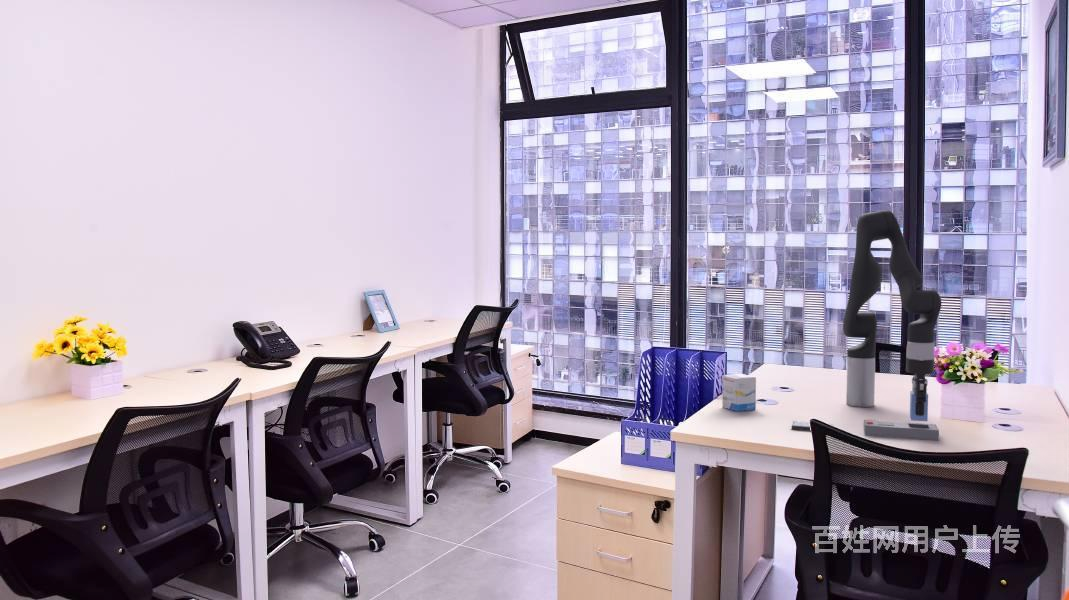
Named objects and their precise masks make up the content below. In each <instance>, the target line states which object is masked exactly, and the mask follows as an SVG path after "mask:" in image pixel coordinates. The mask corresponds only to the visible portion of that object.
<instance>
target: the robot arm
mask: <svg viewBox="0 0 1069 600" xmlns="http://www.w3.org/2000/svg"><path fill="white" fill-rule="evenodd" d="M855 233H856V236H855V253H854V260H853V264H852V265H853V266H852V271H851V277H850V285H849V295H848V298H847V299H848V300H847V305H846V309H845V312H844V316H843V321H842V322H843V323H842V331H843V334H844V336H845V337H847V338H851V339H853V338H854V339H855V338H856V339H857V338H858V339H864V340H863V341H862V342H861V343H859V344H857V345H853V346H851V347H849V348H847V350H846V352H847V353H846V355H847V356H846V392H845V393H846V399H845V401H846V402H845V403H846V405H848V406H851V407H856V408H857V407H859V408H860V407H861V408H870V407H871V408H872V407H874V406H875V394H876V393H875V388H876V387H875V385H876V384H875V383H876V382H875V381H876V348H877V347H876V346H877V332H878V318H877V315H876V313H875V312H873V311H860V310H861V308H862V307H863V305H864V304H866V303H867V302H868V301H870V299H872V297H874V295H875V294H876V293H877V292H878V291H879V289H880V287H881V280H882V274H883V270H882V267H881V265H880V263H879V261H878V260H877V259H876V258H875V256H874V255H873V253H872V251H871V246H872V243H873V242H875V241H883V240H886V239H887V240H888V241H889V242H890V243H891V253H890V256H889V257H890V258H889V261H888V262H889V263H888V265H889V271H890V273H891V275H892V277H893V278H894V279H893V280H894V281H895V283H896V284H897V286H898V292H899V296H900V301H901V306H902V308H903V310H904V311H905V312H907V313H909V314H911V315H919V314H921V315H920V317H919V318H918V319H917V320H914V321H912V322H910V323H909V324H908V326H907V344H906V349H905V350H906V353H905V355H906V357H905V371H906V372H907V373H910V374H914V375H913V376H912V377H911V384H912V385H911V387H912V388H911V391H913V392H914V395H915V402H916V411H915V414H916V415H919V416H923V415H924V403H925V402H926V394H928V388H927V387H928V379H927V378H926V375H932V374H934V372H935V343H934V342H935V327H936V325H937V321H938V318H939V315H940V311H941V308H942V297H941V295H940V294H939V292H938V291H936V290H934V289H918V288H920V287H921V286H922V284H923V282H924V281H923V280H924V279H923V276H922V274H921V272H920V271H919V269H918V268H917V266H916V264H915V263H914V261H913V258H912V257H911V256H912V255H910V252H909V249H908V246H907V243H906V241H905V237H904V234H903V233H902V230H901V227H900V225H899V221H898V219H897V218H896V216H895V214H894V213H893V211H890V210H887V209H886V210H885V209H883V210H877V211H872V212H865V213H863V214H861V215H860V216H859V217H858V219H857V224H856V232H855ZM917 289H918V290H917ZM919 395H923V398H918V396H919Z"/></svg>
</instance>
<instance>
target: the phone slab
mask: <svg viewBox="0 0 1069 600" xmlns="http://www.w3.org/2000/svg"><path fill="white" fill-rule="evenodd" d="M809 422H810V421H798V420H793V421H792V422H791V423H792V424H791V430H795V431H807V432H808V431H809V432H811V431H810V426H809ZM827 423H828V424H830V425H832V426H833V427H834V423H832V422H831V423H830V422H827Z"/></svg>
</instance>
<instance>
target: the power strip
mask: <svg viewBox="0 0 1069 600" xmlns="http://www.w3.org/2000/svg"><path fill="white" fill-rule="evenodd" d="M863 434H864V436H870V437H872V436H873V437H886V438H887V437H888V438H900V439H914V440H926V441H927V440H928V441H929V440H930V441H939V440H940V438H939V437H940V430H939V428H938V426H937V424H935V423H934V424H933V423H922V422H907V421H905V422H904V421H893V420H892V421H890V420H876V419H874V420H873V419H863Z"/></svg>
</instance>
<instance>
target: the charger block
mask: <svg viewBox="0 0 1069 600" xmlns="http://www.w3.org/2000/svg"><path fill="white" fill-rule="evenodd" d="M909 394H910V395H909V419H910V421H914V422H917V421H918V422H928V416H929V413H928V412H929V409H928V408H929V394H928V393H927V394H926V402H925V403H924V415H923V416H919V415H916V414H915V411H916V402H915V395H914V392H913V391H912V390H910V393H909ZM918 398H923V395H919V396H918Z"/></svg>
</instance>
